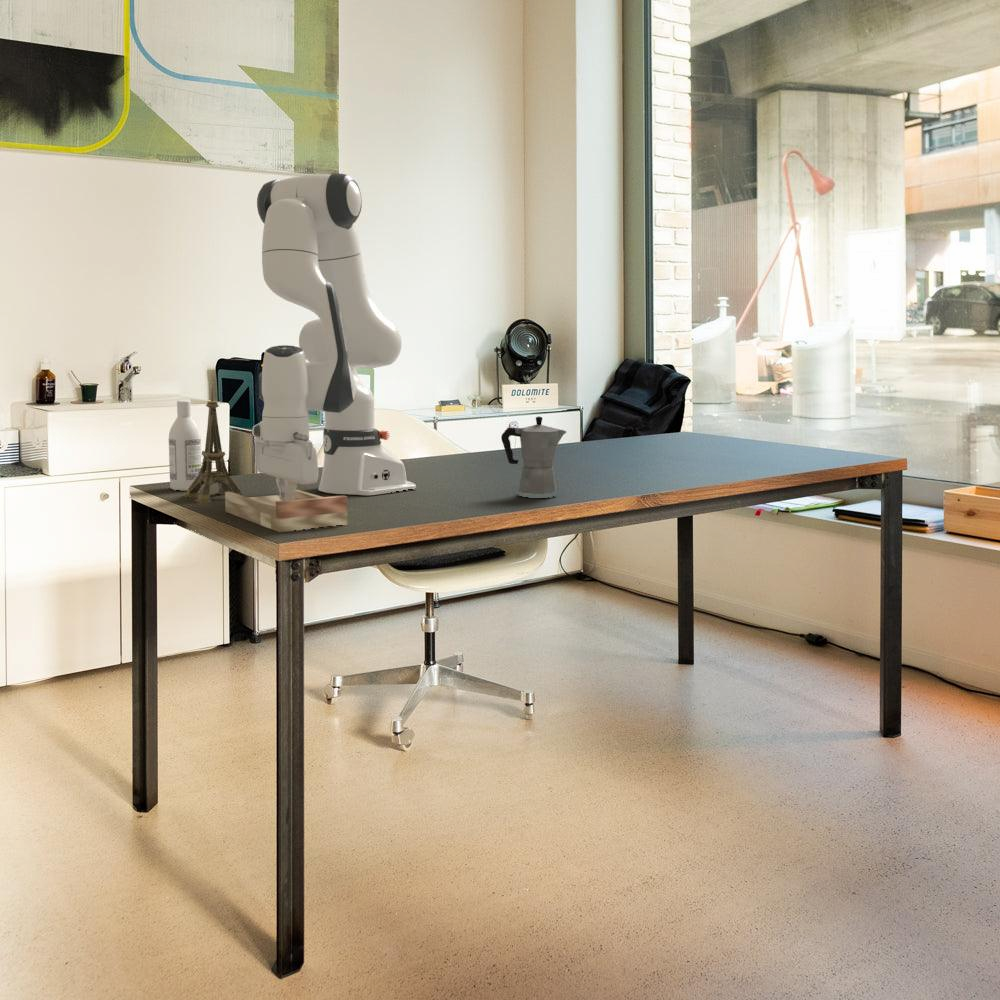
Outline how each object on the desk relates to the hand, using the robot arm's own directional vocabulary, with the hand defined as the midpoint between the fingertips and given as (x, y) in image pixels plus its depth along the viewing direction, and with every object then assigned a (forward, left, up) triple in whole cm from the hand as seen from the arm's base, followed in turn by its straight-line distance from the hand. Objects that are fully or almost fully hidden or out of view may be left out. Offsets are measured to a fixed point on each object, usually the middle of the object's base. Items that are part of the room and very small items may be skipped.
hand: (287, 501), depth 213 cm
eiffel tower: (+3, -31, -4) cm, 31 cm away
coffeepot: (-59, +2, -4) cm, 60 cm away
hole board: (+1, 0, -3) cm, 3 cm away
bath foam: (+4, -45, -4) cm, 45 cm away
